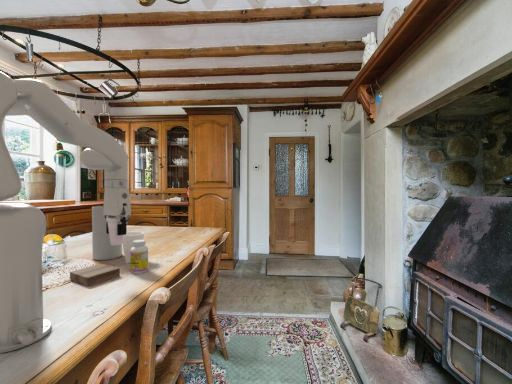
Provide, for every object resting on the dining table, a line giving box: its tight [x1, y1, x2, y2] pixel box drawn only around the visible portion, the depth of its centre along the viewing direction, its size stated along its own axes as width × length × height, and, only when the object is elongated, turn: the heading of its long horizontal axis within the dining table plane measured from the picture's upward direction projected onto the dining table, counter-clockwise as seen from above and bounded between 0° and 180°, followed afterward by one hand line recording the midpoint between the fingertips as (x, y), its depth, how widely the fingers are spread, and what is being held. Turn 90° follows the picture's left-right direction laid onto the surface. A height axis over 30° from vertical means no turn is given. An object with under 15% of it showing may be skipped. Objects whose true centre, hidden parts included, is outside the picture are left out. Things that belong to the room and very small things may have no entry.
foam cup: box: [122, 231, 145, 264], centre depth 121 cm, size 10×9×13 cm
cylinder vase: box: [91, 205, 123, 261], centre depth 128 cm, size 12×12×25 cm
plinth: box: [69, 263, 121, 287], centre depth 100 cm, size 12×12×3 cm
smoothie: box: [107, 217, 123, 245], centre depth 95 cm, size 6×6×14 cm
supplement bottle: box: [130, 239, 149, 275], centre depth 107 cm, size 7×7×13 cm
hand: (116, 233), depth 95 cm, fingers closed on smoothie, 5 cm apart
